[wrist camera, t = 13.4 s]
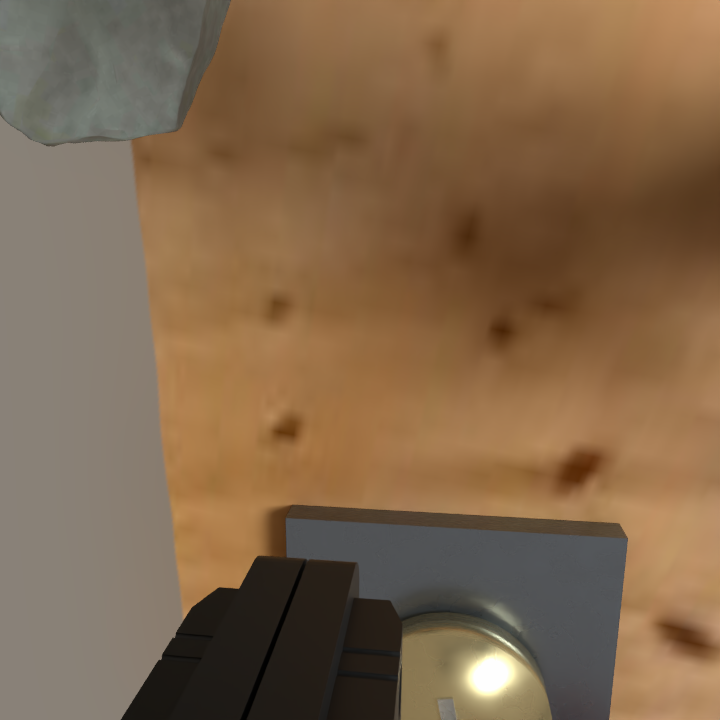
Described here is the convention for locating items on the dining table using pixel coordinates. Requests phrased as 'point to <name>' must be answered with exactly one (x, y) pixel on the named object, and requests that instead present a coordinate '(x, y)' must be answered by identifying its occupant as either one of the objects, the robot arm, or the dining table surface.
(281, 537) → the dining table surface
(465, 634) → the post on brass disc
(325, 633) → the robot arm
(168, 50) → the rock
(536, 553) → the plate
